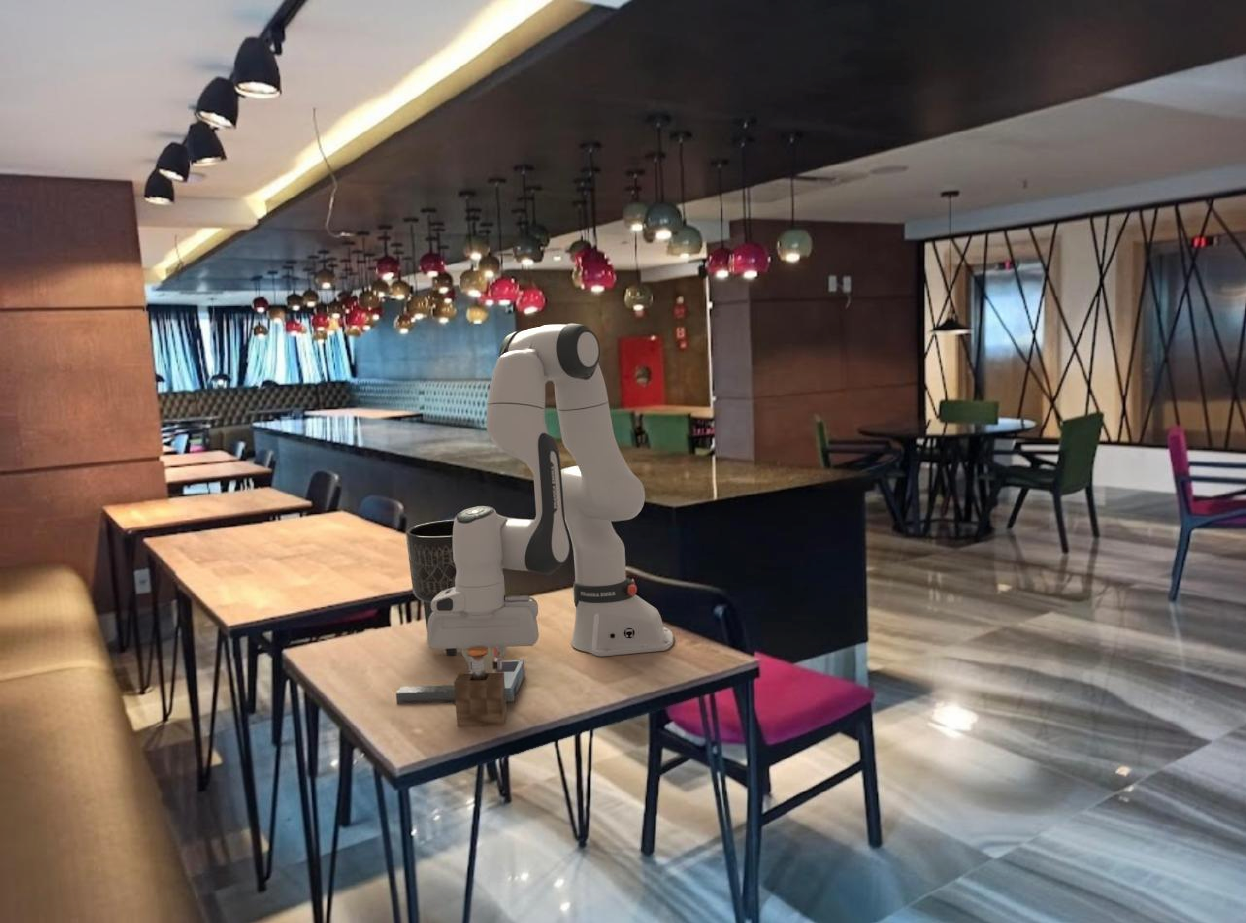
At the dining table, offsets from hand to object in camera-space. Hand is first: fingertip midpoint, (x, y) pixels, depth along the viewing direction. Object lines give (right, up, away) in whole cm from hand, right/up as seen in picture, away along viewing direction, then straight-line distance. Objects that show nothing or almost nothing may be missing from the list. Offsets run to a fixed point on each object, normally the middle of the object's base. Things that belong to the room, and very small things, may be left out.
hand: (485, 669), depth 166 cm
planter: (-12, -3, +37) cm, 39 cm away
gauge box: (0, -8, -7) cm, 10 cm away
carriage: (0, -6, +7) cm, 9 cm away
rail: (-6, -6, +4) cm, 10 cm away
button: (0, -1, -8) cm, 8 cm away
